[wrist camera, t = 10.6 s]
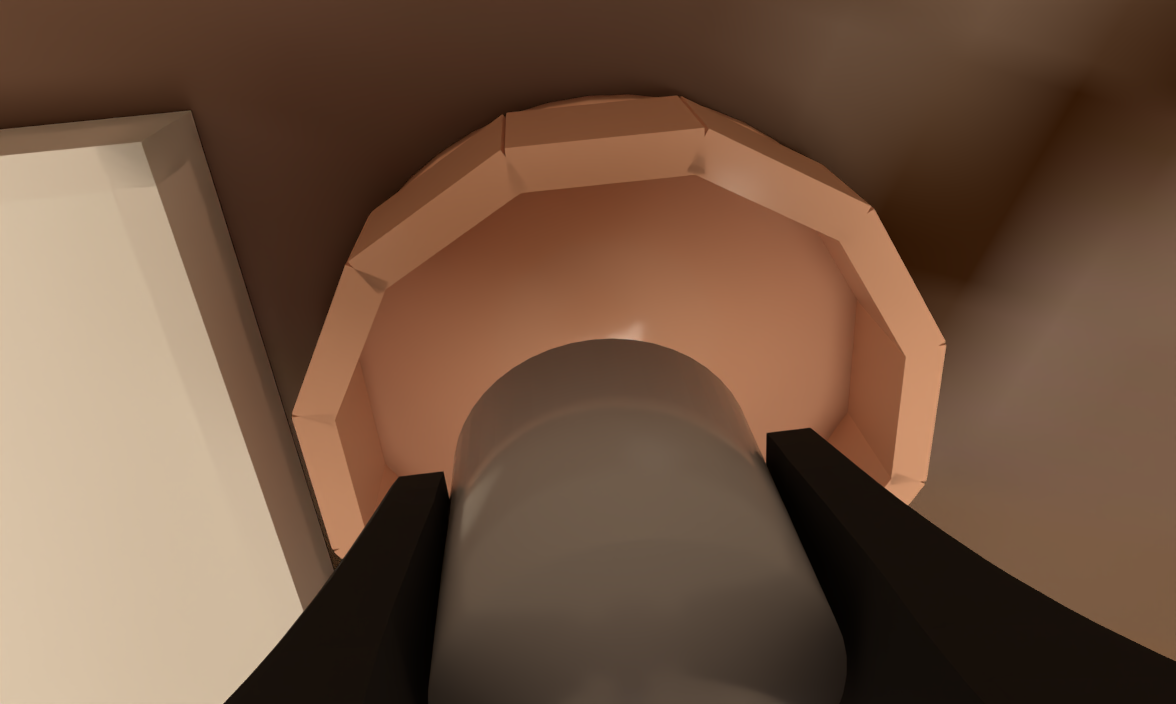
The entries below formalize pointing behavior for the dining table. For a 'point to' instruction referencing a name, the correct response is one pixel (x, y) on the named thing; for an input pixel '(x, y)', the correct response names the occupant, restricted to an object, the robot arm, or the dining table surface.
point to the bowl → (616, 292)
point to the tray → (137, 429)
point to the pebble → (623, 545)
